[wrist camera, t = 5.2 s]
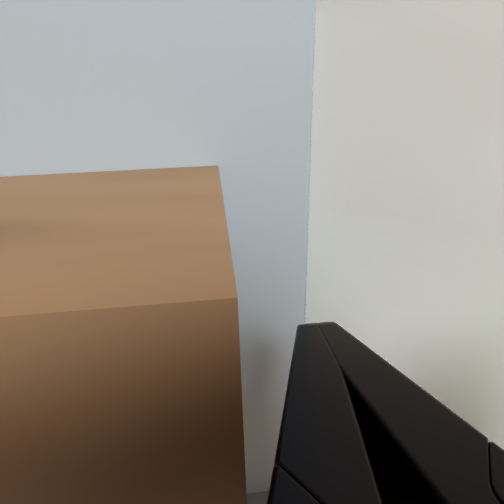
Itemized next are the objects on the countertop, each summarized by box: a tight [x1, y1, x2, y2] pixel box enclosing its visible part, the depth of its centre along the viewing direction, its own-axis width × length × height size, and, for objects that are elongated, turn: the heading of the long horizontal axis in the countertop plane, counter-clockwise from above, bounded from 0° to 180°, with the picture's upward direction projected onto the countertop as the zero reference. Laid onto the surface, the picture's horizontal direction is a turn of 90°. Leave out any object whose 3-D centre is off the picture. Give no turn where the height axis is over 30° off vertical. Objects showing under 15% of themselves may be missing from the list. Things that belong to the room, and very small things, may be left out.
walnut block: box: [0, 166, 247, 504], centre depth 8 cm, size 6×6×5 cm
